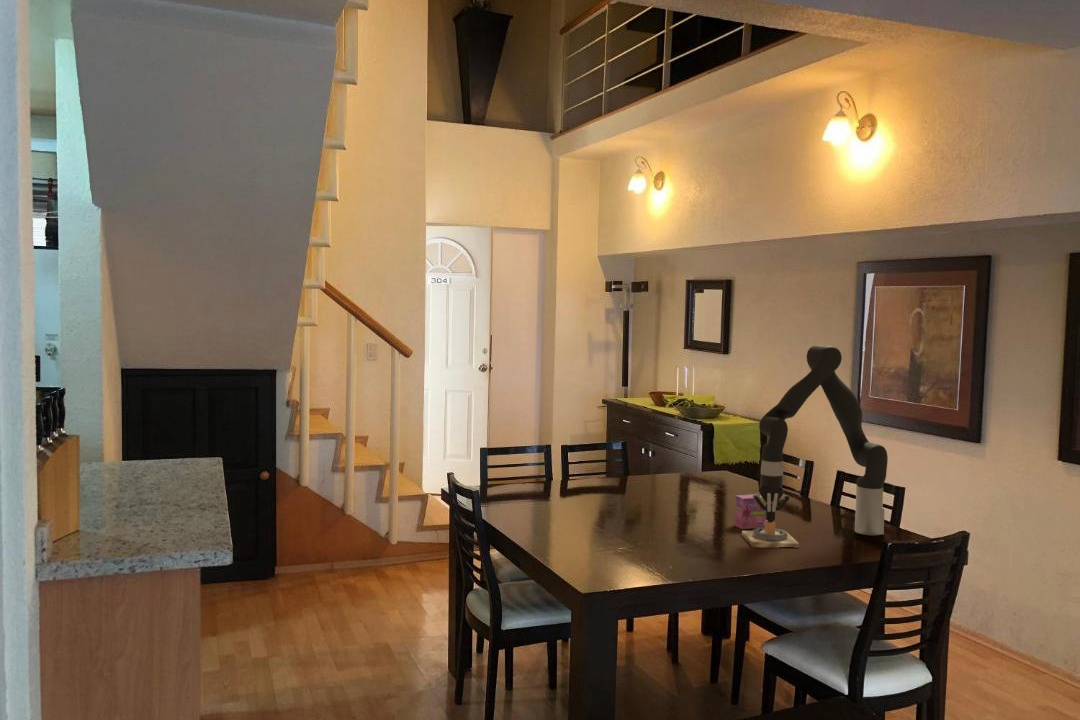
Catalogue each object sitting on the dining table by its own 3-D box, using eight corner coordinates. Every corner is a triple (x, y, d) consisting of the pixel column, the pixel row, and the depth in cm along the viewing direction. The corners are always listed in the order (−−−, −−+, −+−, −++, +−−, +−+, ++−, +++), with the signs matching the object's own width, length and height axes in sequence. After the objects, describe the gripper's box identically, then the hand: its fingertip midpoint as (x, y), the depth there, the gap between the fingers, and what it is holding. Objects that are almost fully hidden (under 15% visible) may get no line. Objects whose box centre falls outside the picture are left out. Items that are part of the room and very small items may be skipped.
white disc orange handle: (777, 534, 308) (777, 519, 307) (782, 539, 301) (782, 524, 300) (757, 534, 308) (757, 519, 307) (762, 539, 301) (762, 523, 300)
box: (741, 529, 320) (742, 498, 319) (734, 525, 326) (735, 494, 325) (766, 527, 323) (767, 496, 322) (758, 524, 328) (759, 493, 328)
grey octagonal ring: (780, 533, 310) (781, 527, 309) (789, 541, 299) (789, 535, 299) (750, 532, 310) (750, 527, 309) (758, 540, 299) (758, 535, 299)
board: (785, 535, 312) (786, 531, 312) (798, 547, 296) (799, 543, 296) (741, 534, 312) (741, 530, 312) (752, 547, 296) (752, 542, 296)
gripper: (787, 471, 306) (786, 519, 308) (750, 470, 307) (748, 518, 308) (793, 475, 299) (792, 524, 300) (755, 474, 299) (754, 524, 300)
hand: (770, 521), depth 304 cm, fingers closed
